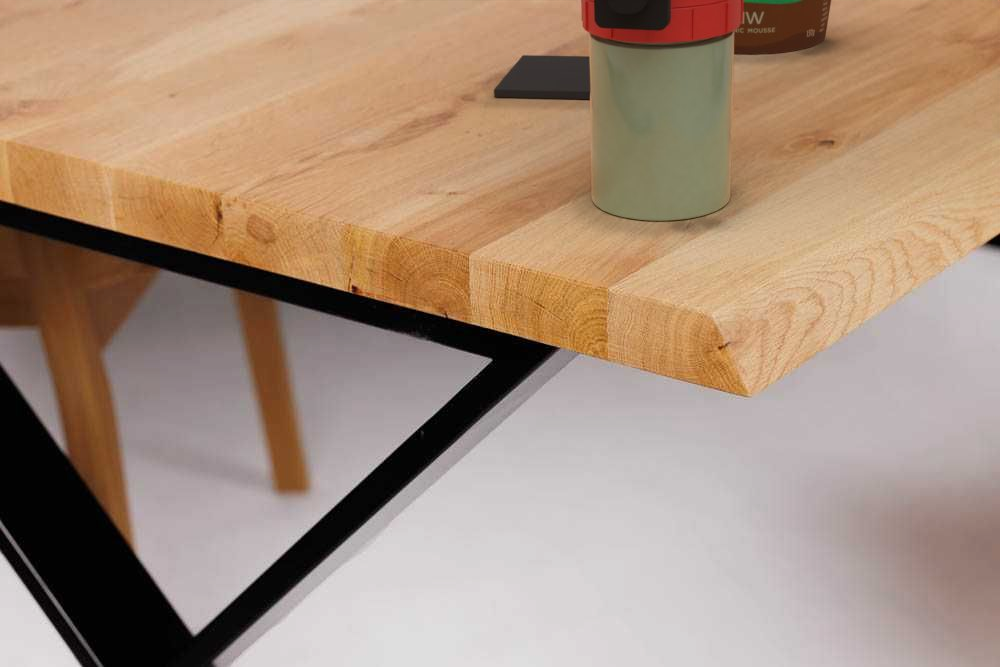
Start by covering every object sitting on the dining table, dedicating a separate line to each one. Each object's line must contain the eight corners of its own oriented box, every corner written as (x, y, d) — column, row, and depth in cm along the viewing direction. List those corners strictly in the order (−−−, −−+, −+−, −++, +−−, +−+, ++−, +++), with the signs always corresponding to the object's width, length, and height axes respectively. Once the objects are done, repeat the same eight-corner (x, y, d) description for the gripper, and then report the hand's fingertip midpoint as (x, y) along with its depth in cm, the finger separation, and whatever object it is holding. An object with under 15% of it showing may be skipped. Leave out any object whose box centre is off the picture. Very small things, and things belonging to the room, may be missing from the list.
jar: (735, 176, 71) (741, -20, 67) (723, 224, 65) (728, 12, 61) (603, 172, 73) (601, -21, 69) (580, 218, 67) (576, 11, 63)
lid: (551, 22, 67) (550, -19, 66) (674, -1, 70) (675, -41, 69) (645, 52, 61) (645, 7, 60) (774, 25, 64) (776, -18, 64)
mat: (646, 64, 91) (646, 57, 91) (627, 100, 84) (627, 92, 84) (522, 62, 93) (522, 54, 93) (494, 97, 86) (493, 89, 86)
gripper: (704, -440, 49) (697, 54, 57) (798, -425, 64) (783, -34, 71) (499, -425, 52) (518, 45, 59) (634, -415, 66) (636, -38, 74)
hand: (663, 2), depth 65 cm, fingers open, 9 cm apart
